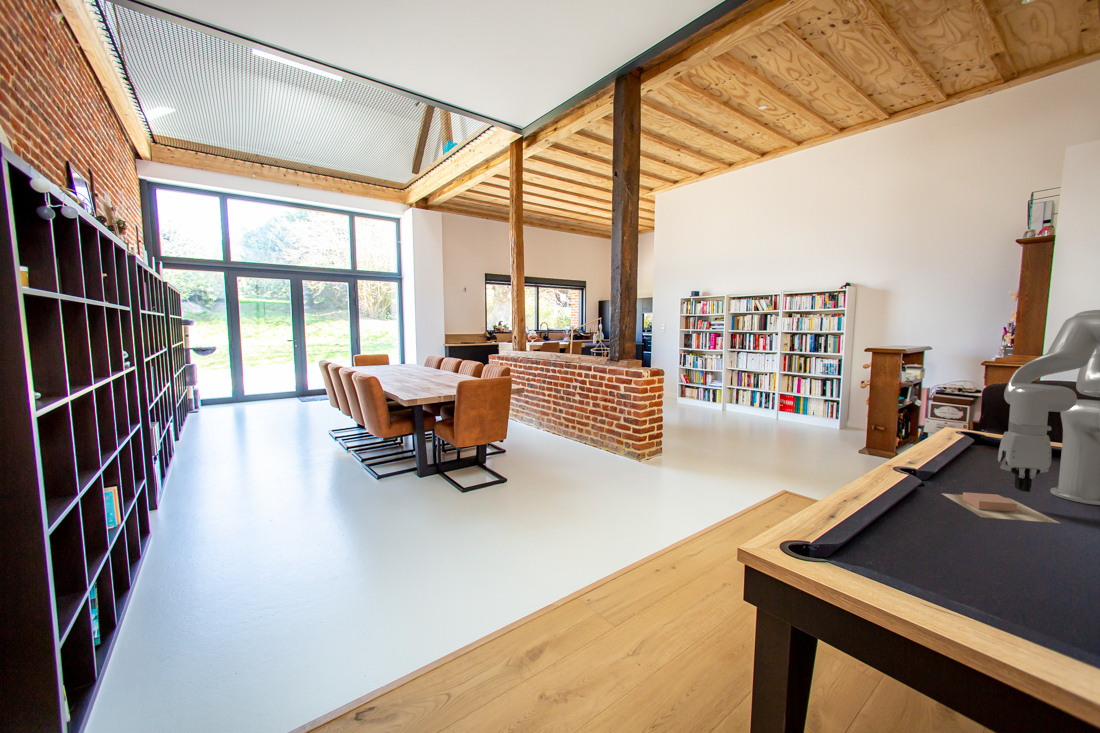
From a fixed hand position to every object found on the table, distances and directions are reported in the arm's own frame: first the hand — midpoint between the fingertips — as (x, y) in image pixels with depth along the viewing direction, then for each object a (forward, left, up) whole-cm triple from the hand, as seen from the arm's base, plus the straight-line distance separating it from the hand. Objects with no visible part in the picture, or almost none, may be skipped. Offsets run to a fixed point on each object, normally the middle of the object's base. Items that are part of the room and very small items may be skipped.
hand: (1022, 489), depth 128 cm
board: (+6, 0, -7) cm, 9 cm away
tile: (+4, 0, -4) cm, 6 cm away
